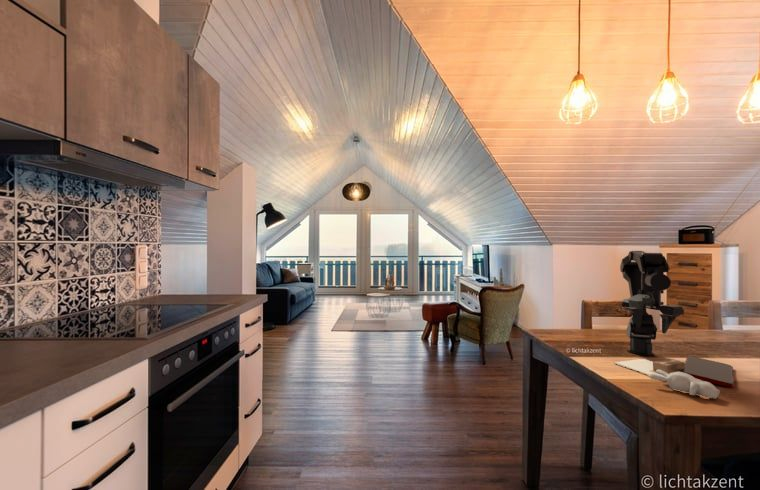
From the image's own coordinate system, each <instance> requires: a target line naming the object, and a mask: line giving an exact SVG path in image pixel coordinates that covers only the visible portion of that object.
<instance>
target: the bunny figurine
mask: <svg viewBox="0 0 760 490" xmlns="http://www.w3.org/2000/svg"><path fill="white" fill-rule="evenodd" d="M656 373H658V374H660V375H657V374H653V373H650V376H648V378H650V379H652V380H657V381H660V380H661V382H666V383H667V384H668V385H669V388H670V389H671V388H672V389H676V390H680V391H685V392H689V395H690V396H697V395H696V394H698V395H702V396H705V397H710V398H711V399H715V400H716V399H717V398H718V397H719V396H720V392H721V390H720V389H717V388H716V386H715V385H714V384H713V383H710V382H706V381H702V380H700V379H696V378H694V377H693V376H691V375H689V374H687V373H683V372H673V373H670V374H668V373H667V372H665V371H662V370H659V369H658V370H656ZM661 375H663V376H661ZM664 376H665V377H664ZM672 389H671V390H672Z"/></svg>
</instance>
